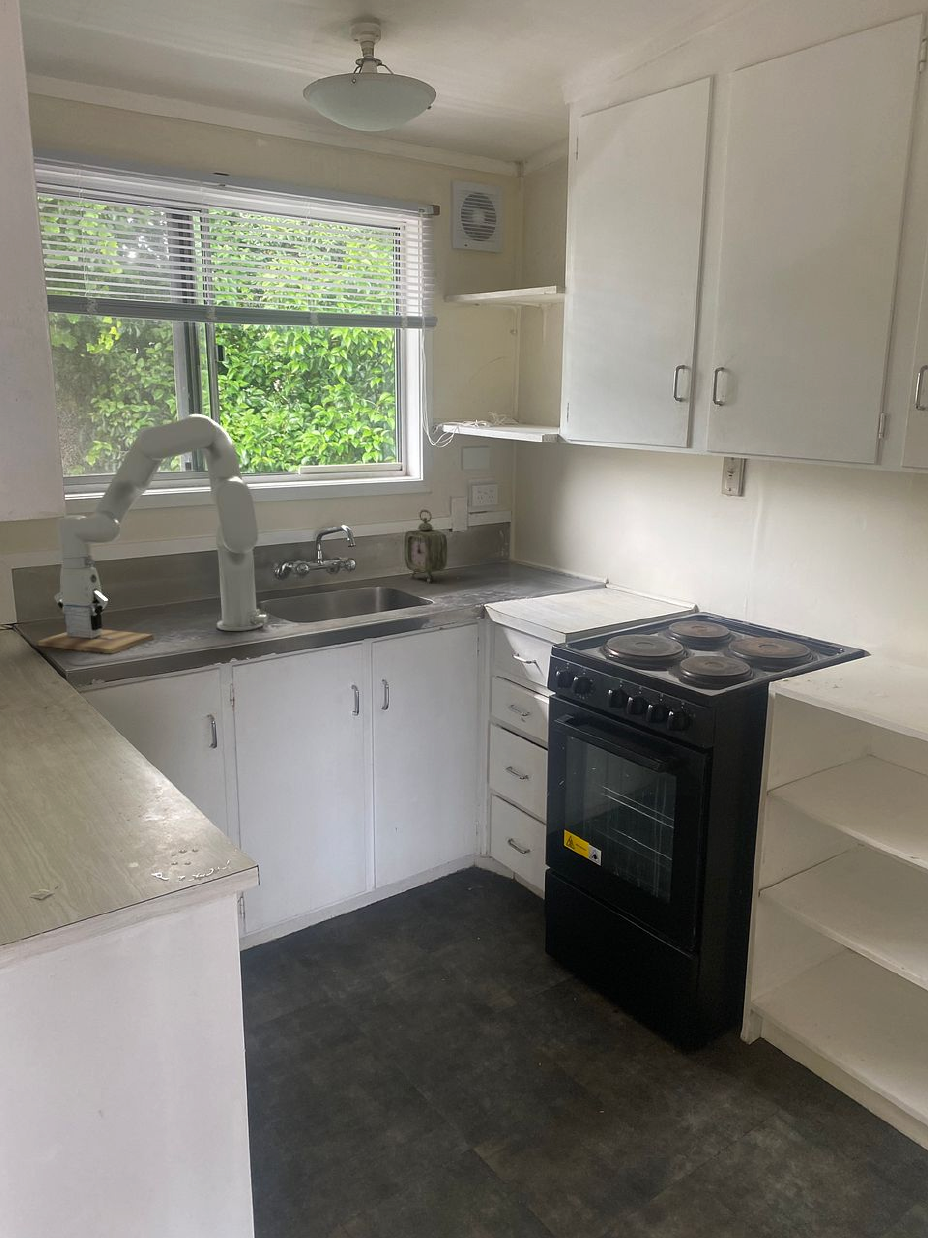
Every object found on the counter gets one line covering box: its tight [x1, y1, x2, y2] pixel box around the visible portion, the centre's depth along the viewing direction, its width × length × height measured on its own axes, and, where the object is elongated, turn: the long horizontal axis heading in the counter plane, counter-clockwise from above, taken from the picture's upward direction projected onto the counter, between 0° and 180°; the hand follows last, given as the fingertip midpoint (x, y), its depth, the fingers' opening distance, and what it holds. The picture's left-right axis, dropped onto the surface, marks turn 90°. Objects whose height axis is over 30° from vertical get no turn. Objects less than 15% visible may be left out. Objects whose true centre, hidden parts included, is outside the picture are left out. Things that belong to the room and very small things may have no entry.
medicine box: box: [63, 605, 102, 639], centre depth 245 cm, size 8×4×9 cm, turn 72°
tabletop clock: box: [404, 509, 448, 584], centre depth 327 cm, size 14×9×25 cm, turn 37°
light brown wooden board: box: [37, 628, 155, 654], centre depth 245 cm, size 24×16×1 cm, turn 70°
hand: (83, 627), depth 246 cm, fingers closed on medicine box, 8 cm apart
